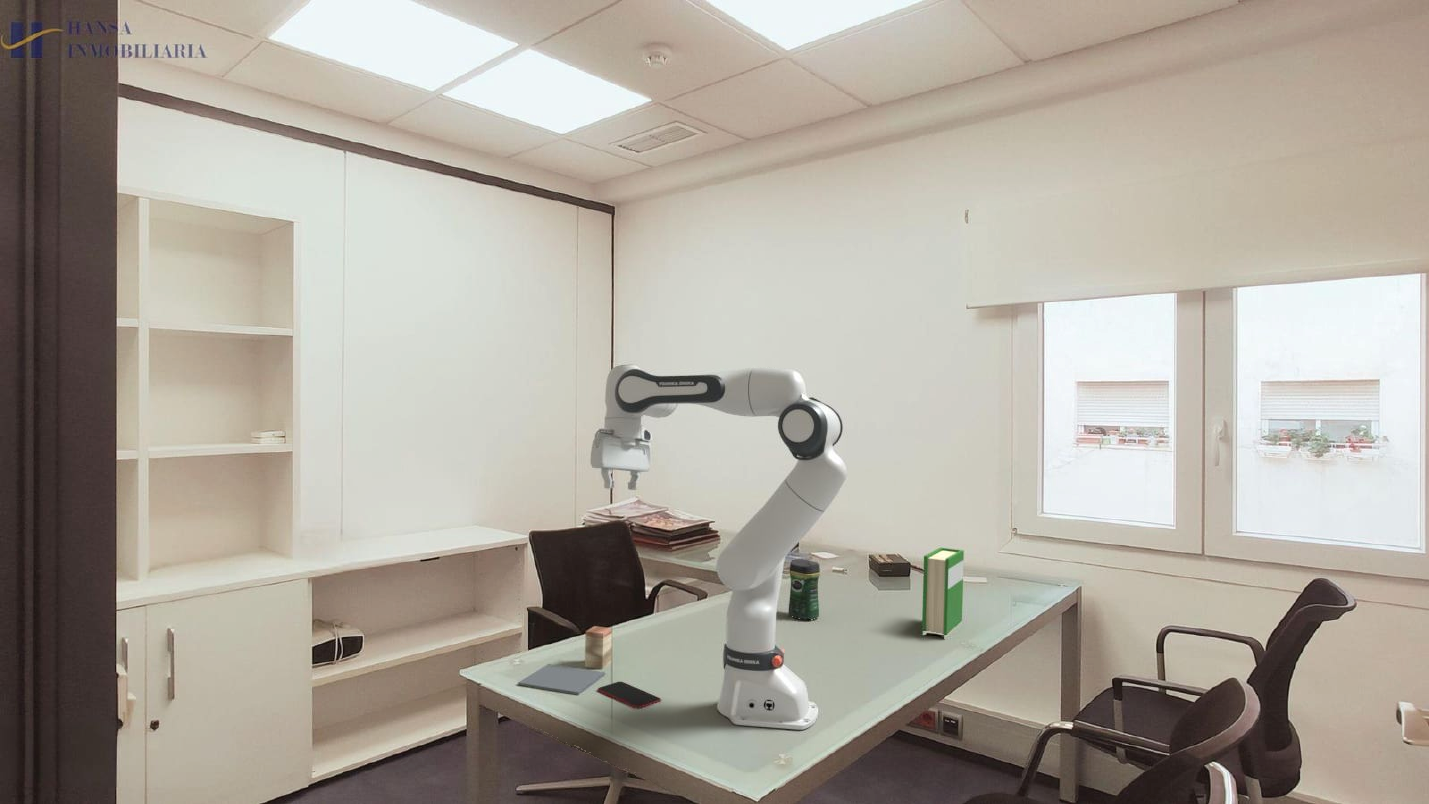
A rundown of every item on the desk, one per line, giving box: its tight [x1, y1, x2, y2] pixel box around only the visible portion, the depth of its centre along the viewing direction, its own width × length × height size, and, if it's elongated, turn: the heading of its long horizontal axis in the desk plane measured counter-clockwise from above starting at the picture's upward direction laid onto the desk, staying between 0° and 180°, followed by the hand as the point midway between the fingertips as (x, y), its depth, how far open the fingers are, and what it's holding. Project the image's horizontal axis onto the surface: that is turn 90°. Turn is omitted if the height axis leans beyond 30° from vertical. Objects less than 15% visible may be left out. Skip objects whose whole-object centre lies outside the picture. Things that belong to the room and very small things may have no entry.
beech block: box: [584, 625, 613, 670], centre depth 195 cm, size 5×5×9 cm
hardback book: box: [921, 547, 965, 635], centre depth 234 cm, size 18×7×24 cm, turn 148°
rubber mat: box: [517, 663, 606, 696], centre depth 184 cm, size 16×14×1 cm
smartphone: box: [597, 681, 662, 710], centre depth 175 cm, size 7×1×15 cm
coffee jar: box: [787, 558, 821, 620], centre depth 244 cm, size 10×8×19 cm
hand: (620, 489), depth 181 cm, fingers open, 8 cm apart
